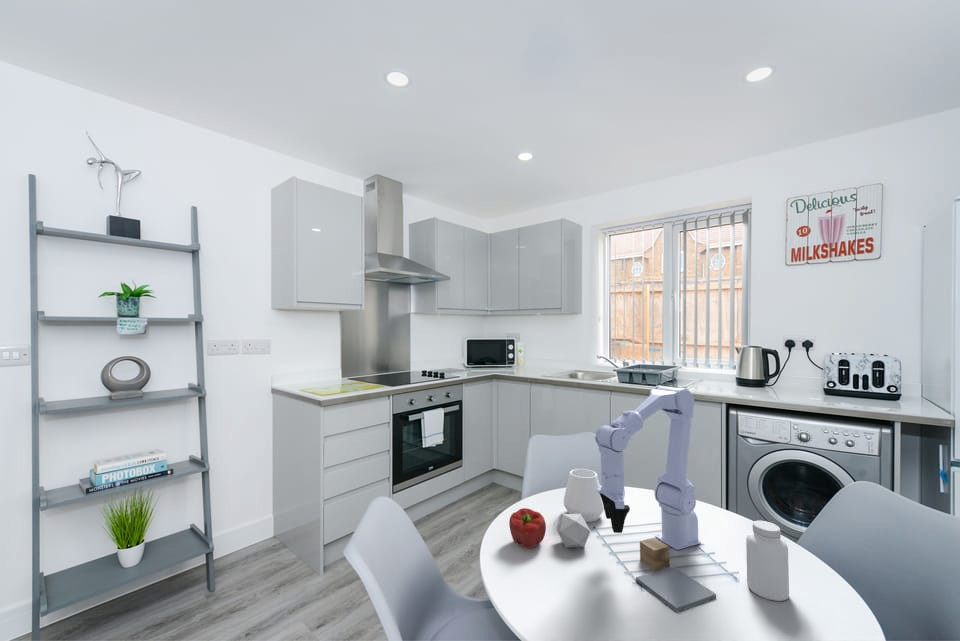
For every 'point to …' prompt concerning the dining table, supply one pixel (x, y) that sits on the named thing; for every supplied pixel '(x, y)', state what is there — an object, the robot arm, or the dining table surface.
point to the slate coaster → (675, 588)
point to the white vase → (583, 495)
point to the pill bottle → (767, 562)
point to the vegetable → (527, 527)
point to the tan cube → (654, 553)
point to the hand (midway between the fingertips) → (613, 525)
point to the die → (573, 530)
